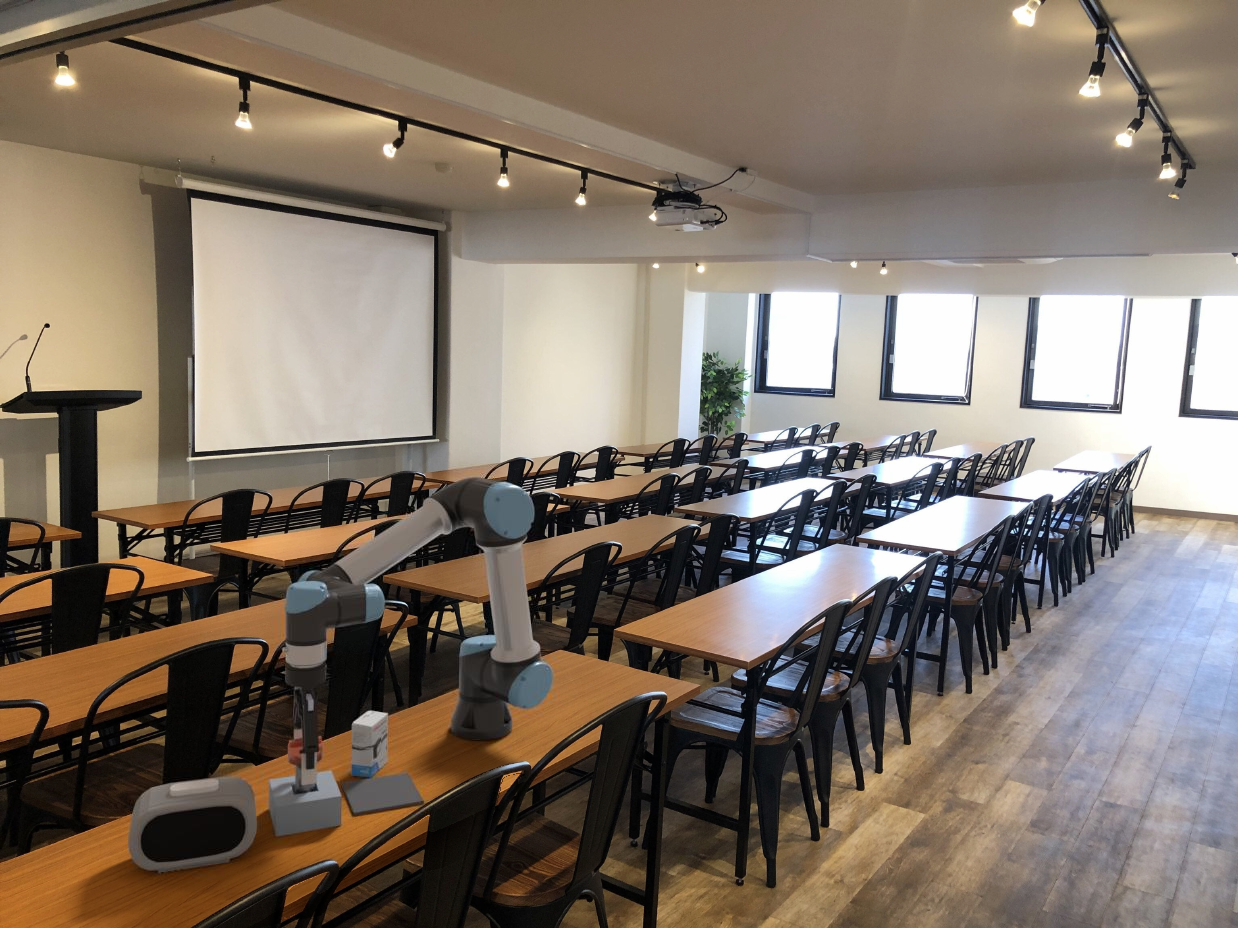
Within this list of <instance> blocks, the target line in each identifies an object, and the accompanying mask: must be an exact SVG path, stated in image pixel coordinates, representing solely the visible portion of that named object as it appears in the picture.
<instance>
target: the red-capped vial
mask: <svg viewBox="0 0 1238 928" xmlns="http://www.w3.org/2000/svg"><path fill="white" fill-rule="evenodd" d="M318 740H319V752H317V763H319V762H321V761H322V759H323V741H322V740H323V739H322V735H318ZM300 750H303V740H302V738H299V739H294V738H293V739H289V740H288V744H287V762H288V763H289V764H291V765H292V766H293V765H294V766H295V769H294V771H295V773H294V776H295V795H296V794H302V793H308V792H315V783H314V784H307V785H302V784H301V778H302V754H299V751H300Z"/></svg>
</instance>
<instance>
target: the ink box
mask: <svg viewBox="0 0 1238 928" xmlns="http://www.w3.org/2000/svg"><path fill="white" fill-rule="evenodd" d="M388 725H389V713H388V712H380V711H375V710H368V711H366V712H365V713H363V714H362V715H360V716H359V717H358V718H357V719H355V720H354V721H353V722H352V724H351V765H350V767H351V771H350V773H351V774H350V775H351V776H353V777H354V776H355V777H360V778H361V777H363V778H367V779H369V778H373V777H374V775H376V773H378V772H379V770H381V768H383V767H384V766H385V765H386V764H387V762H388V732H389V731H388V730H389V729H388V727H389V726H388Z"/></svg>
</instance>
